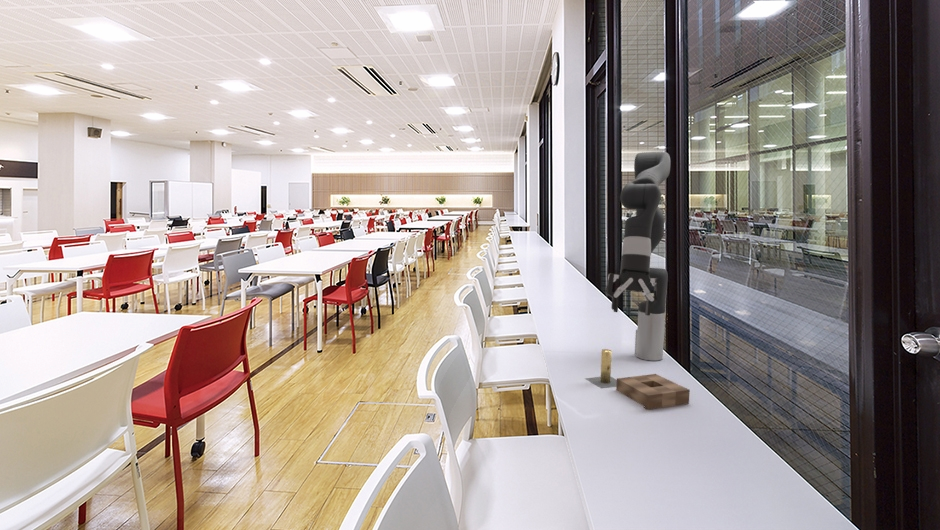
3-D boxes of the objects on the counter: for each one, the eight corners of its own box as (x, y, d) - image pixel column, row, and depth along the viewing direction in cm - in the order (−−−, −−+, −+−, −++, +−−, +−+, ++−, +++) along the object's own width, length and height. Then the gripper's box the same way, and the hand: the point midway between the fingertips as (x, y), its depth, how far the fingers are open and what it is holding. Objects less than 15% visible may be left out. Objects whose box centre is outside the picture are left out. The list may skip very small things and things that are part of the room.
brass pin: (598, 380, 153) (599, 349, 152) (606, 379, 154) (607, 348, 153) (604, 383, 150) (605, 352, 149) (612, 382, 151) (613, 351, 150)
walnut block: (616, 391, 145) (616, 378, 145) (654, 386, 150) (655, 373, 149) (647, 409, 132) (648, 395, 131) (688, 403, 136) (689, 389, 136)
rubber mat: (584, 379, 155) (584, 378, 155) (609, 377, 158) (609, 375, 158) (601, 389, 146) (601, 388, 146) (626, 386, 149) (626, 385, 149)
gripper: (658, 259, 137) (654, 316, 135) (607, 254, 138) (602, 311, 137) (666, 255, 130) (662, 316, 128) (612, 250, 131) (607, 310, 129)
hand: (631, 313), depth 132 cm, fingers open, 8 cm apart
